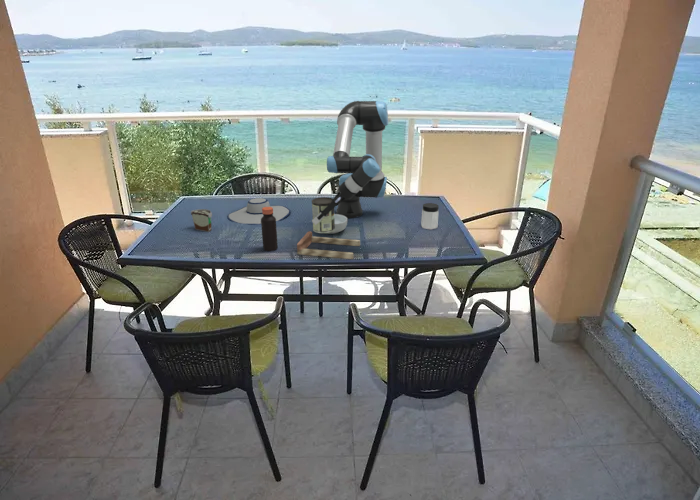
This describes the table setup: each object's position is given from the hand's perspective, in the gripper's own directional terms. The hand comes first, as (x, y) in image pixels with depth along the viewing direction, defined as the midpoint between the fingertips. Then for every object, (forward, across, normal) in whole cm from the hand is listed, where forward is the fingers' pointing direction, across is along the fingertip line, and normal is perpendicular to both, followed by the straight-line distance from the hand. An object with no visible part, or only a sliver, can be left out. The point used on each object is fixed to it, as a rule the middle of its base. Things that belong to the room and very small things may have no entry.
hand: (317, 218), depth 206 cm
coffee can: (+2, 0, -6) cm, 6 cm away
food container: (+57, +14, +36) cm, 69 cm away
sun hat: (+45, +43, +23) cm, 66 cm away
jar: (-24, +42, -46) cm, 67 cm away
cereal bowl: (+11, +24, -11) cm, 29 cm away
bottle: (+26, -4, +5) cm, 27 cm away
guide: (+7, 0, -14) cm, 16 cm away
